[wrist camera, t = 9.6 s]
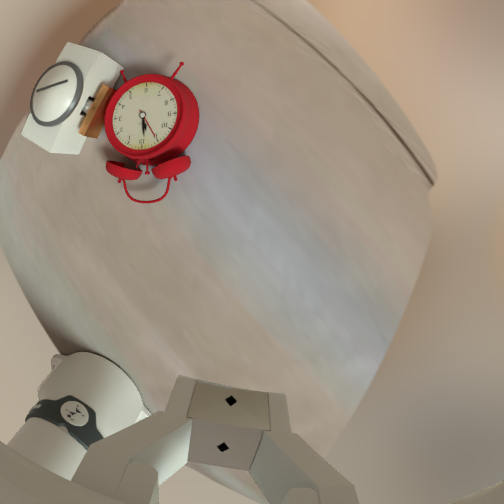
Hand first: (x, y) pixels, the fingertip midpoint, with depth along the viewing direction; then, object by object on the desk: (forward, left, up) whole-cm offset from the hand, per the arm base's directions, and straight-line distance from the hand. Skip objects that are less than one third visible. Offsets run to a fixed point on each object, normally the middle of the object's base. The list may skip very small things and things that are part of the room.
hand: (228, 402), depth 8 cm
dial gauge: (+4, +27, -26) cm, 38 cm away
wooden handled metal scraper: (+4, +25, -25) cm, 36 cm away
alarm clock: (+4, +15, -27) cm, 31 cm away
